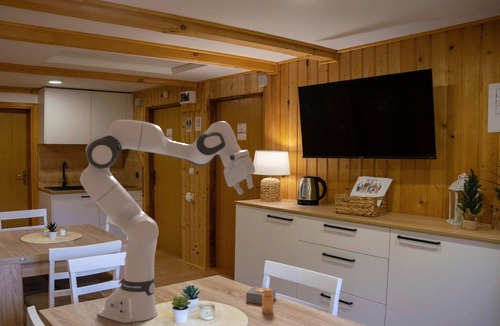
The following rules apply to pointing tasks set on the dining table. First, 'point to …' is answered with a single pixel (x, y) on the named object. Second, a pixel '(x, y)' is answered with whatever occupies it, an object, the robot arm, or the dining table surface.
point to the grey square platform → (257, 294)
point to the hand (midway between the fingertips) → (246, 190)
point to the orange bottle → (267, 301)
